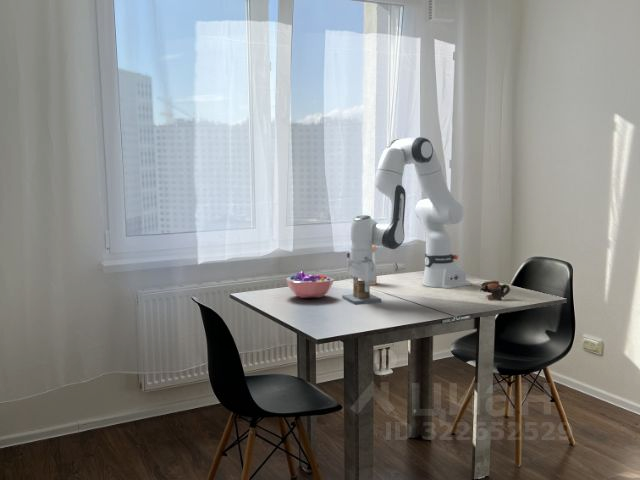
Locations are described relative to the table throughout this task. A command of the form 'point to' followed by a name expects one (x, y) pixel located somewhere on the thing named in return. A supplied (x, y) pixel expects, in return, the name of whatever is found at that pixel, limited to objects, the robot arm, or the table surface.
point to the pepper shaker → (373, 262)
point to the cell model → (309, 285)
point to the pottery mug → (495, 290)
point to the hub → (362, 300)
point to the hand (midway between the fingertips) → (361, 289)
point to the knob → (360, 290)
